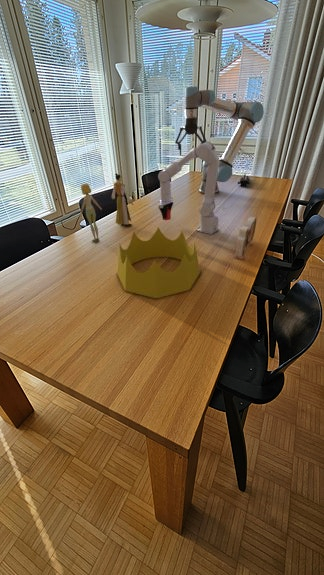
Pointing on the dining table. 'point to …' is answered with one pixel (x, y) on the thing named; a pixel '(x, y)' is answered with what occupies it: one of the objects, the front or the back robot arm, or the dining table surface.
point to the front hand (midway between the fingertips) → (166, 216)
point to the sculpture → (90, 209)
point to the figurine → (121, 203)
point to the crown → (155, 278)
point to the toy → (244, 181)
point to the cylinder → (168, 215)
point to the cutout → (245, 236)
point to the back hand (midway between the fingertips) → (190, 154)
